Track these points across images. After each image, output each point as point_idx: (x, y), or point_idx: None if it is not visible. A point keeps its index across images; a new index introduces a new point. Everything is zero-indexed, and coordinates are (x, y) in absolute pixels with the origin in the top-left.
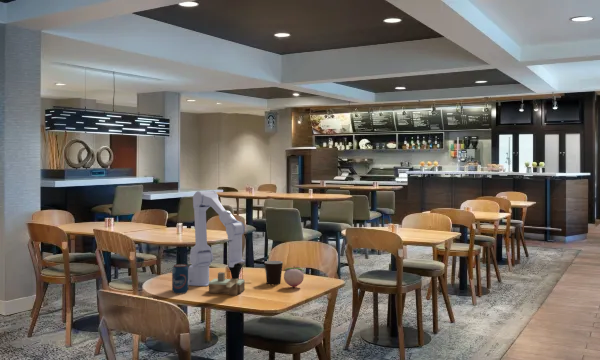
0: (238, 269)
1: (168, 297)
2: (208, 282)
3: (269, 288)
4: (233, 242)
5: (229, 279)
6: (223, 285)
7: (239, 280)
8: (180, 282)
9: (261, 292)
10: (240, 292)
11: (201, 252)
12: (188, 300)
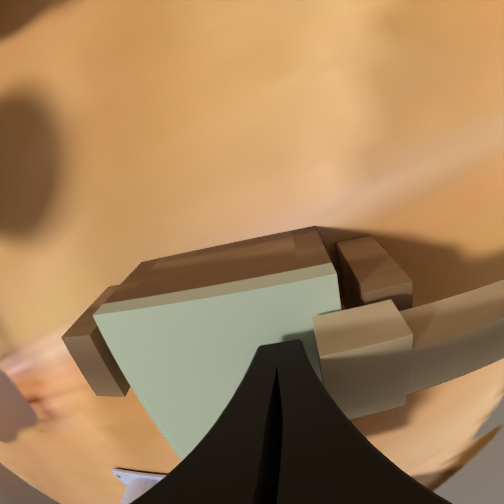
0: (408, 484)
1: (435, 475)
2: (149, 482)
3: (12, 106)
4: None
5: (180, 438)
6: None
7: (164, 351)
8: None
9: (148, 68)
10: (294, 234)
11: None
12: (493, 407)
